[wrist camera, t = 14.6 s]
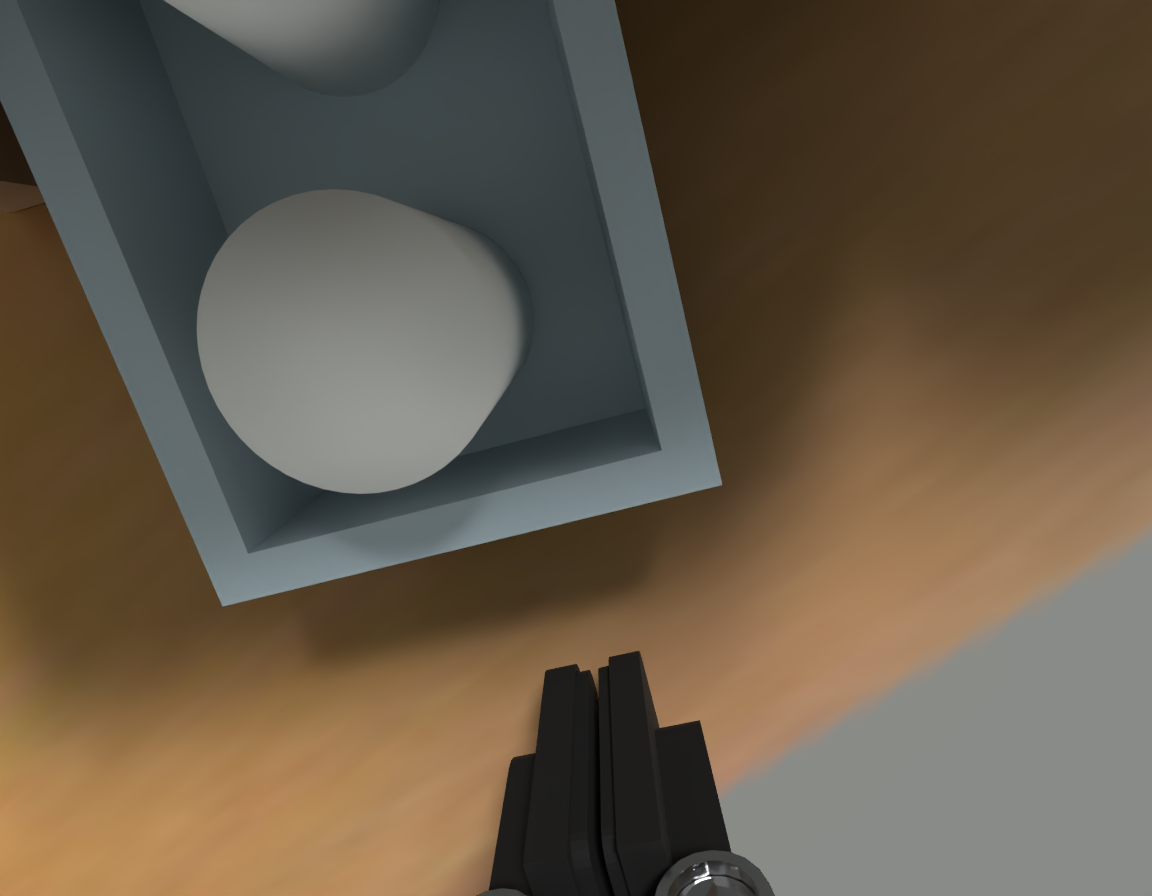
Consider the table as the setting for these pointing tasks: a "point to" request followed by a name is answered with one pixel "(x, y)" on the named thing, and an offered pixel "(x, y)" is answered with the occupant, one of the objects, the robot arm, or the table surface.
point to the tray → (432, 146)
